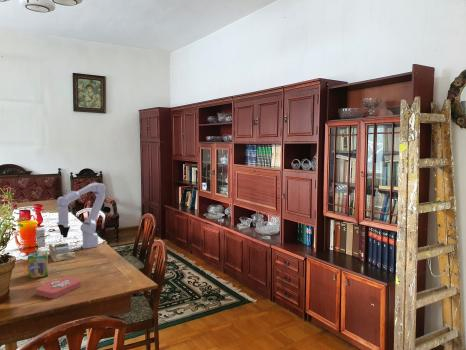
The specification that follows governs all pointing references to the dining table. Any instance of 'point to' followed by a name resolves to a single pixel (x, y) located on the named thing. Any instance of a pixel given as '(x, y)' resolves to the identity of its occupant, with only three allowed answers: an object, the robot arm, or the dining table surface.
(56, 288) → the pink flat block
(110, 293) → the dining table surface
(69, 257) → the birch shelf bay
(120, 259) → the dining table surface
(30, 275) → the chalk box
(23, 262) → the dining table surface
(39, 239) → the ink box
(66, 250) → the slate boxed book
